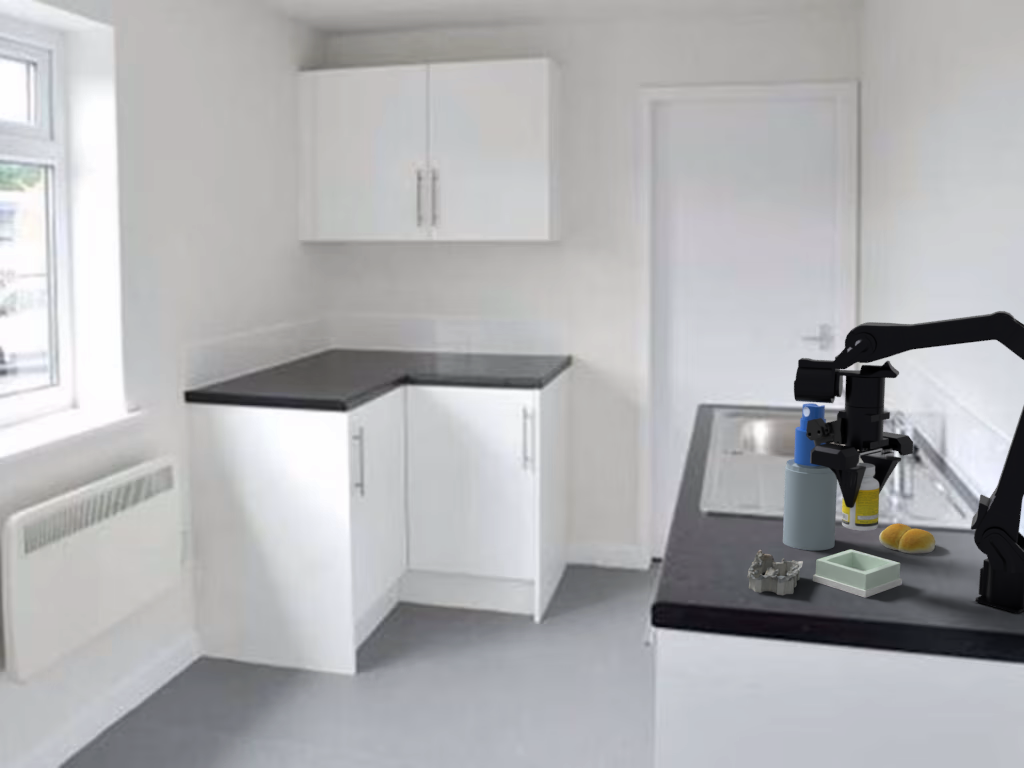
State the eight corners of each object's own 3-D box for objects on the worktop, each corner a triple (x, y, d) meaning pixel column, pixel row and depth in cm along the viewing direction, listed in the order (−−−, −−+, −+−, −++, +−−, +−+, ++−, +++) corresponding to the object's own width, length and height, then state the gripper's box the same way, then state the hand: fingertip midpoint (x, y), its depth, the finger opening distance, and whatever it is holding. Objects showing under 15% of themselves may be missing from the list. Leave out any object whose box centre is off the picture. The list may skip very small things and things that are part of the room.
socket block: (901, 584, 160) (902, 563, 159) (865, 597, 154) (866, 575, 154) (849, 569, 167) (850, 548, 167) (813, 581, 162) (813, 559, 161)
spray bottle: (807, 553, 176) (812, 410, 172) (772, 539, 184) (776, 402, 180) (845, 545, 180) (851, 405, 176) (809, 533, 188) (814, 398, 184)
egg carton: (758, 572, 167) (758, 547, 167) (805, 578, 164) (806, 553, 163) (742, 592, 158) (743, 566, 157) (791, 599, 155) (792, 573, 154)
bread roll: (921, 558, 173) (922, 535, 173) (872, 546, 180) (873, 525, 180) (944, 548, 179) (945, 526, 178) (896, 537, 185) (897, 516, 185)
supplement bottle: (884, 526, 159) (886, 464, 158) (867, 533, 156) (869, 471, 154) (852, 519, 163) (854, 459, 162) (835, 526, 159) (836, 465, 158)
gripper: (855, 393, 168) (851, 485, 171) (782, 405, 157) (780, 503, 160) (917, 401, 160) (912, 498, 162) (844, 414, 149) (841, 518, 151)
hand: (860, 504), depth 159 cm, fingers closed on supplement bottle, 5 cm apart
